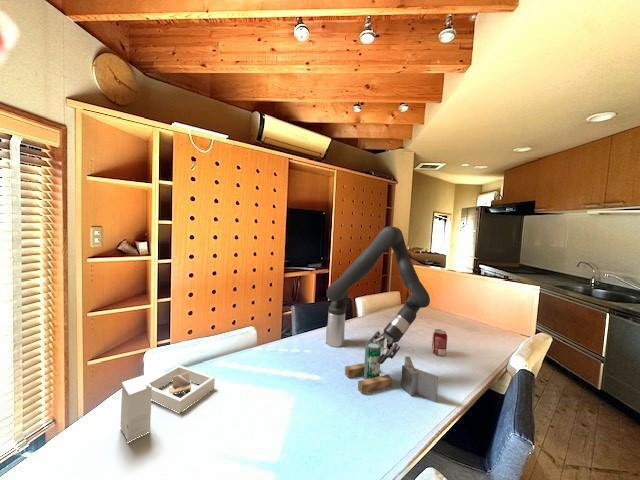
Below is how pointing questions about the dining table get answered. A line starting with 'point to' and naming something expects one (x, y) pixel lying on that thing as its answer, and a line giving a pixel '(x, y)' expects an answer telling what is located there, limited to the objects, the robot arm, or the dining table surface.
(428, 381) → the v cradle
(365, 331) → the dining table surface
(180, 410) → the holder tray
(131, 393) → the skincare box
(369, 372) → the can
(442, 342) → the soda can
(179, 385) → the architectural model
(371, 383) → the wooden bar pair
